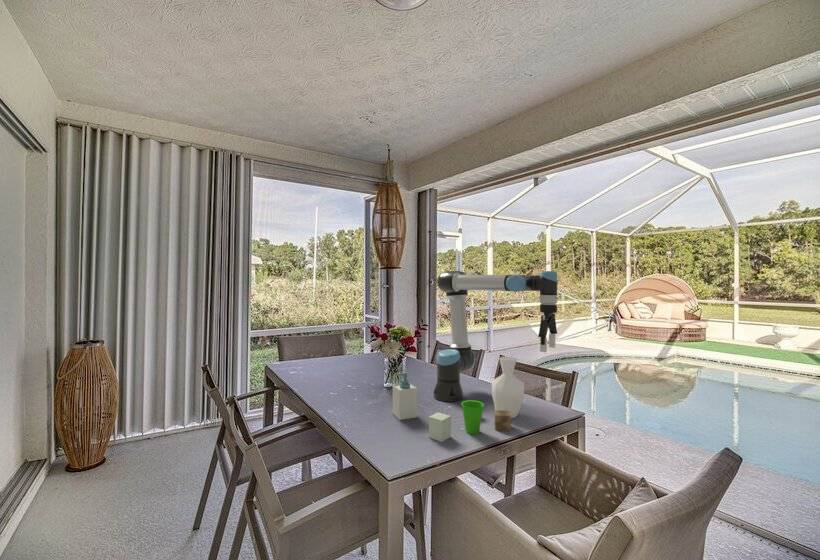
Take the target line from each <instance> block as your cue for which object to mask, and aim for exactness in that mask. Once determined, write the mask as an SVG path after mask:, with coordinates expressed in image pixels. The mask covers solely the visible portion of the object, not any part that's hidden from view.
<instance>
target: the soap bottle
mask: <svg viewBox="0 0 820 560" xmlns="http://www.w3.org/2000/svg"><path fill="white" fill-rule="evenodd" d="M408 374H410V371H405V372H397V373H395V376H402V377H403V379H402V380H401V382H400V383H399V384H398V383H397V384H393V385H392V414H393V415H394V417H396V418H397V419H398V420H399V421H403V420H408V419H414V418H418V416H419V415H418V413H419V412H418V410H419V408H418V407H419V405H418V404H419V403H418V401H419V400H418V398H419V397H418V396H419V395H418V392H419V391H418V390H419V388H418V387H417V386H415V385H414V384H412V383H411V382H409V380H408V379H407V378H408Z"/></svg>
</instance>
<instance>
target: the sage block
mask: <svg viewBox="0 0 820 560" xmlns="http://www.w3.org/2000/svg"><path fill="white" fill-rule="evenodd" d="M451 430H452V415H448V414H445V413H442V412H435V413H434V414H432V415H429V416H428V438H429V439H432V440H435V441H438V442H440V443H443V442H444V441H446V440H448V439H449V438H451V437H452V431H451Z"/></svg>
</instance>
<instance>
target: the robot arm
mask: <svg viewBox="0 0 820 560" xmlns="http://www.w3.org/2000/svg"><path fill="white" fill-rule="evenodd" d="M558 282H559V281H558V273H557V272H556V271H554V270H541V271H540V273H539V274H537V275H534V274H467V273H466V272H463V271H460V270H445V271H442V272H441V273H440V274H439V275H438V276H437V280H436V285H437V287H438V289H439V290H440V291H441V292H443V293H445V294H446V297H447V298H448V300H449V301H448V302H449V313H450V329H451V331H450V332H451V344H450V345H449V348H447V349H442V350H440V351H438V352H437V354H436V356H437V357H436V384H435V387H434V389H433V398H434V399H436V400H438V401H440V402H441V401H442V402H458V401H461V400H463V399H464V392H463V388H462V385H461V373H463V372H466V371H468V370H470V369H471V368H472V367H473V366H474V365H475V363H476V354H475V351H473V349H472V345H471V344H470V342H469V336H468V322H467V321H468V320H467V306H466V298H467V296H468V295H469V292H468V291H494V292H495V291H496V292H514V293H517V292H518V293H519V292H539V303H540V304H539V312H540V313H541V314H542V313H543V315H540V323H539V324H540V325H539V331H538V336H537V337H538V338H539V340H540V342H539V353H540V352H541V353H547V350H548V349H547V347H548V348H553V349H554V348H556V335H557V334H558V330H557V329H558V328H557V323H556V313H557V312H558V305H557V304H558V300H559V297H558ZM548 330H549V334H548ZM547 334H548V337H547ZM547 345H548V346H547Z"/></svg>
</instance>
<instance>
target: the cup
mask: <svg viewBox="0 0 820 560" xmlns="http://www.w3.org/2000/svg"><path fill="white" fill-rule="evenodd" d="M460 405H461V406H462V413H463V414H462V415H463V419H464V420H463V421H464V426H465V431H466V433H467V434H469V435H478V434H479V432H480V429H481V423H482V418H483V417H482V416H483V411H484V407H485V403H483V402H482V401H479V400H474V399H473V400H471V399H470V400H469V399H468V400H464V401H462V402H461V403H460Z"/></svg>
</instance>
